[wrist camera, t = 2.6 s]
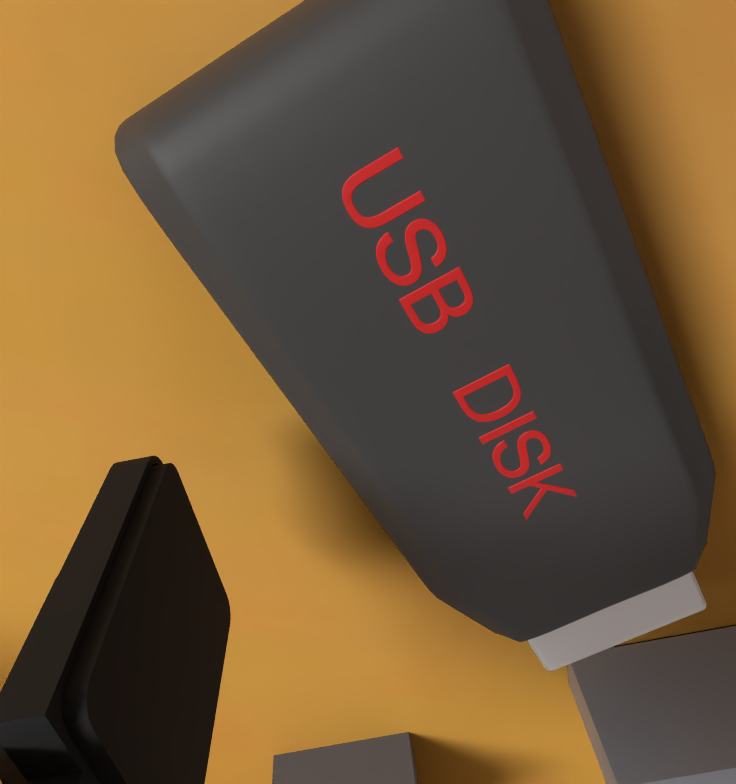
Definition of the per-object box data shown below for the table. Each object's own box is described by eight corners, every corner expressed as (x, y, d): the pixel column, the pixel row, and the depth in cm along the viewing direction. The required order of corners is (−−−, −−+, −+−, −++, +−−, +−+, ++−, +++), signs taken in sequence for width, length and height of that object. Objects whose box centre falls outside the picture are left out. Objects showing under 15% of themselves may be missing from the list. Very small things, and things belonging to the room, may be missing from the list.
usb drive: (464, -105, 8) (522, -150, 6) (704, 514, 14) (783, 618, 12) (133, 114, 9) (72, 150, 7) (480, 611, 15) (511, 725, 13)
